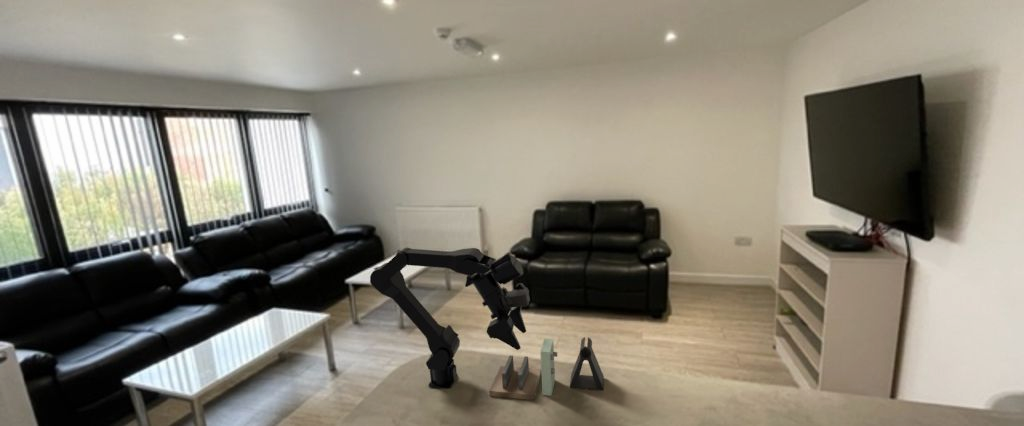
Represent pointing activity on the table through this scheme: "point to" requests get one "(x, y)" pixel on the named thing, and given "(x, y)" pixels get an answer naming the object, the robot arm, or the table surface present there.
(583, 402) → the table surface
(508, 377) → the hinge base
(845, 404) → the table surface
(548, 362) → the door panel
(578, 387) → the grey triangular stand
